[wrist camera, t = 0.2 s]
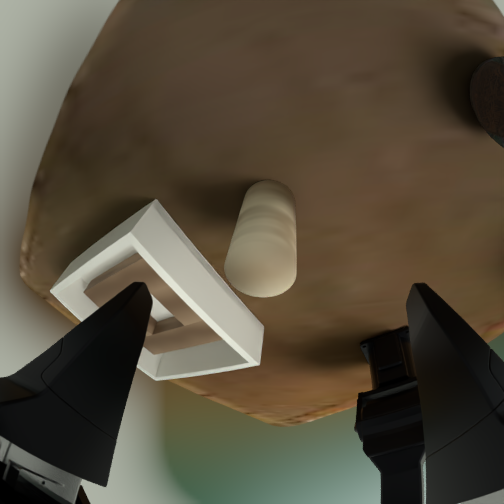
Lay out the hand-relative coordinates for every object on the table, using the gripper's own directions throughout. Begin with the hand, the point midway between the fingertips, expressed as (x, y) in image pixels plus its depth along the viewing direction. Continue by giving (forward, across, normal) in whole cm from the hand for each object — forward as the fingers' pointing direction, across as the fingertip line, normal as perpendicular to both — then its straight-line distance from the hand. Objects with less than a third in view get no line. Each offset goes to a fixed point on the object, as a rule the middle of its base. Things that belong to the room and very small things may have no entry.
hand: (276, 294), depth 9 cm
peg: (+14, +1, +4) cm, 14 cm away
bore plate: (+13, +14, +14) cm, 24 cm away
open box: (+14, +14, +14) cm, 24 cm away
